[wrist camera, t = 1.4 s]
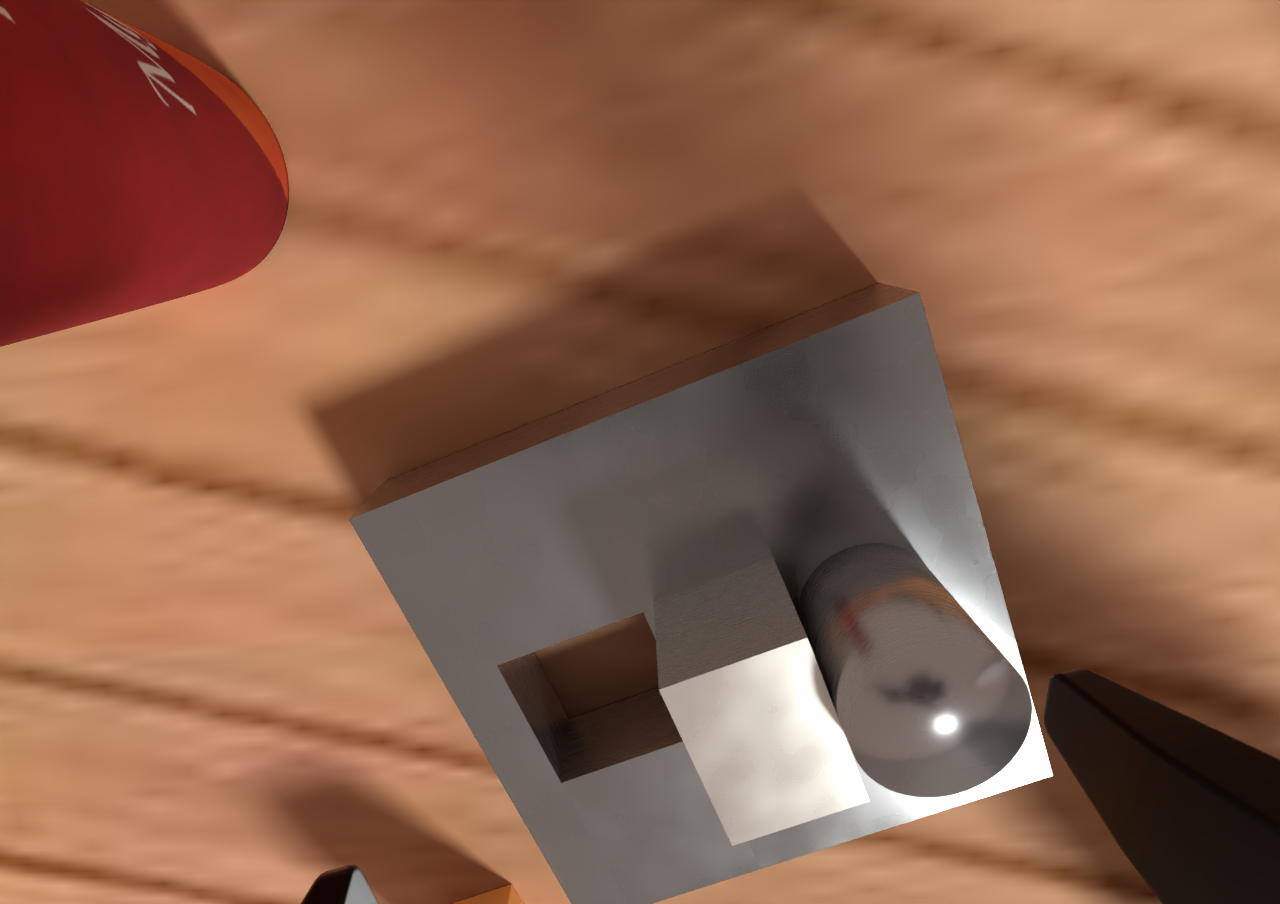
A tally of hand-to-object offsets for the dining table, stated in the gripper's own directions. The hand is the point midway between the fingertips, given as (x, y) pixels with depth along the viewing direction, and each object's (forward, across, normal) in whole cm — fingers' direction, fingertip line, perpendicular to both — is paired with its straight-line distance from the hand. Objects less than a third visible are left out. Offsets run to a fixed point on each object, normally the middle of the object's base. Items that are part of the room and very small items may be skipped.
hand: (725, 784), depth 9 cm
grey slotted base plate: (+12, -3, +8) cm, 15 cm away
